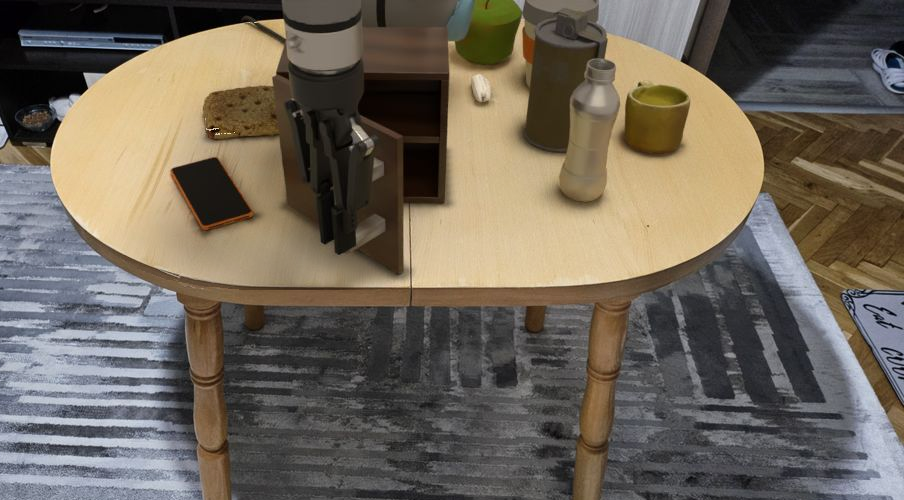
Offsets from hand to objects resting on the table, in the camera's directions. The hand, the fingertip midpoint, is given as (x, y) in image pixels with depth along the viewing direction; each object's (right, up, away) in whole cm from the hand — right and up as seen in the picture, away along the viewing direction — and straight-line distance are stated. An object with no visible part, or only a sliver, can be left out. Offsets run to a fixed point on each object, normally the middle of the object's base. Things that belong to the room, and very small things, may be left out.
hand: (338, 243), depth 96 cm
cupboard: (+3, +11, +25) cm, 27 cm away
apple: (+23, +37, +55) cm, 70 cm away
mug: (+47, +19, +33) cm, 60 cm away
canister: (+32, +19, +33) cm, 50 cm away
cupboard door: (-3, 0, +11) cm, 12 cm away
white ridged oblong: (+21, +28, +44) cm, 56 cm away
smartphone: (-20, +8, +21) cm, 30 cm away
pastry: (-18, +23, +38) cm, 48 cm away
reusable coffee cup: (+34, +31, +47) cm, 66 cm away
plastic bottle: (+33, +8, +21) cm, 40 cm away
